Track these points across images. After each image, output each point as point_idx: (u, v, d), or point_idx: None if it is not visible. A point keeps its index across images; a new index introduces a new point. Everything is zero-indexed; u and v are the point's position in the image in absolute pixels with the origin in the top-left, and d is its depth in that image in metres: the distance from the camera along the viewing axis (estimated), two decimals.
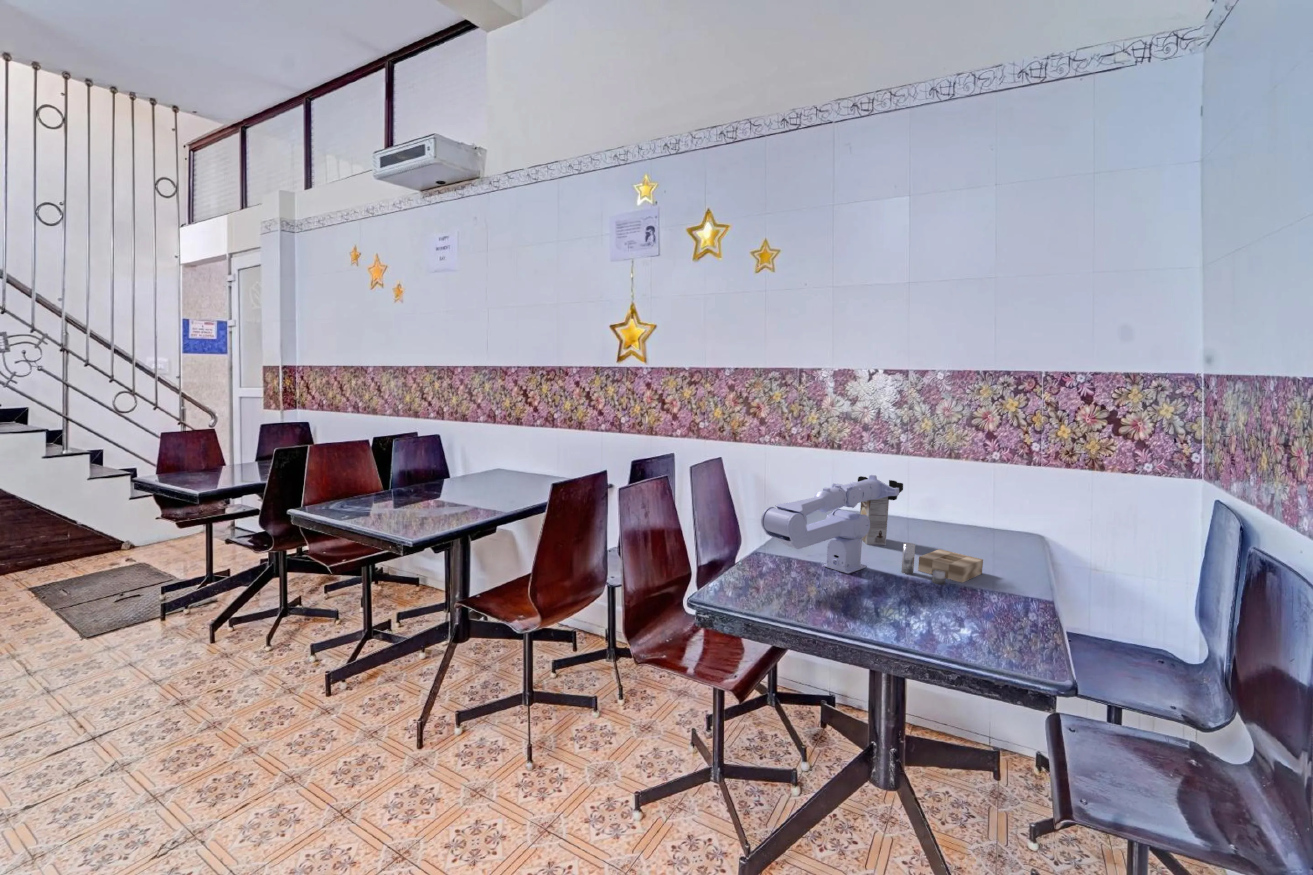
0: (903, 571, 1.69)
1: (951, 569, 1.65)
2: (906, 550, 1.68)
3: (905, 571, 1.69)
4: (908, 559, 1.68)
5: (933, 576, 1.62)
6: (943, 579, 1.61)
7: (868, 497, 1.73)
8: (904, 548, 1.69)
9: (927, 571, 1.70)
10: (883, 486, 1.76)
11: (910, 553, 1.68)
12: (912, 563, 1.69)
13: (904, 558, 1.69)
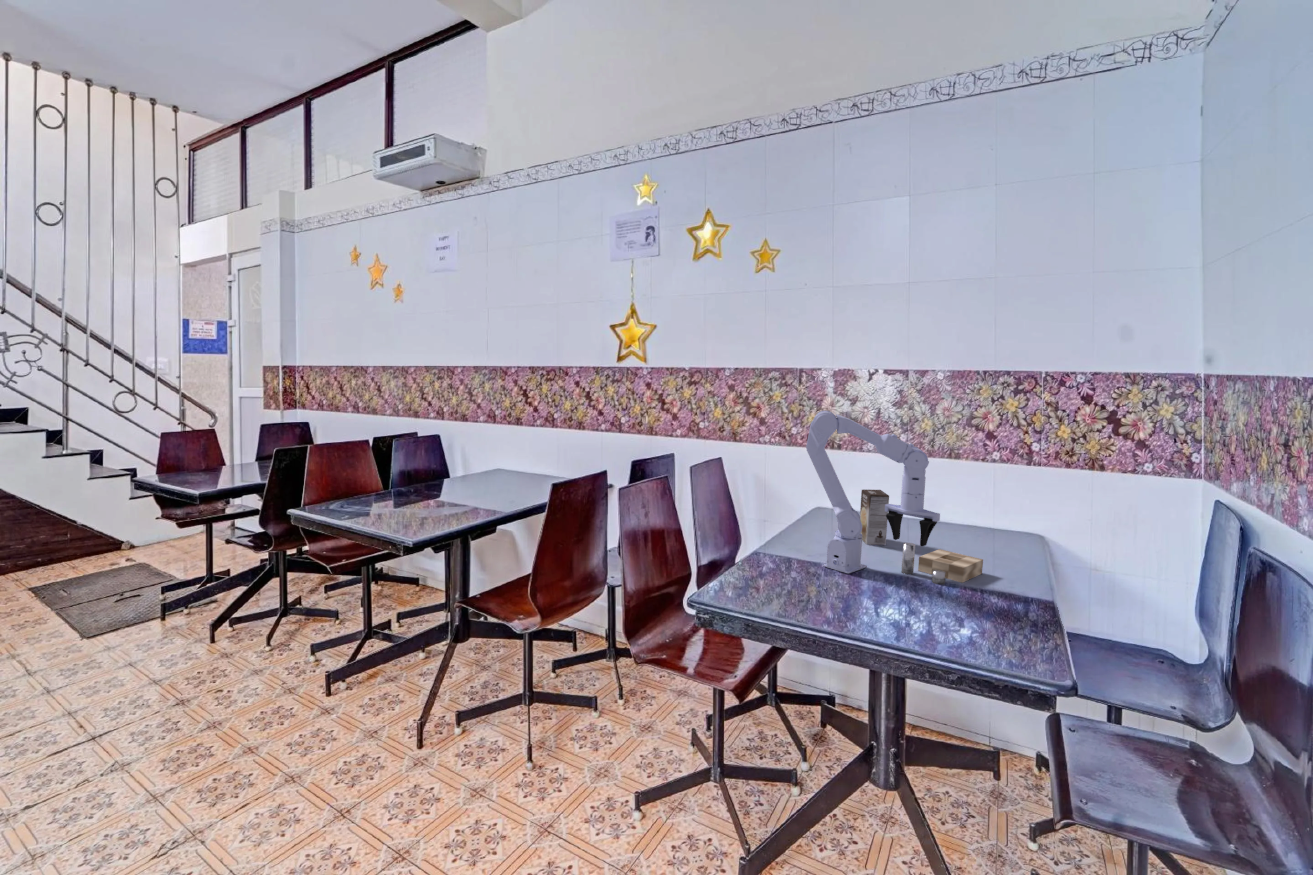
0: (903, 571, 1.69)
1: (951, 569, 1.65)
2: (906, 550, 1.68)
3: (905, 571, 1.69)
4: (908, 559, 1.68)
5: (933, 576, 1.62)
6: (943, 579, 1.61)
7: (909, 489, 1.65)
8: (904, 548, 1.69)
9: (927, 571, 1.70)
10: (925, 512, 1.66)
11: (910, 553, 1.68)
12: (912, 563, 1.69)
13: (904, 558, 1.69)
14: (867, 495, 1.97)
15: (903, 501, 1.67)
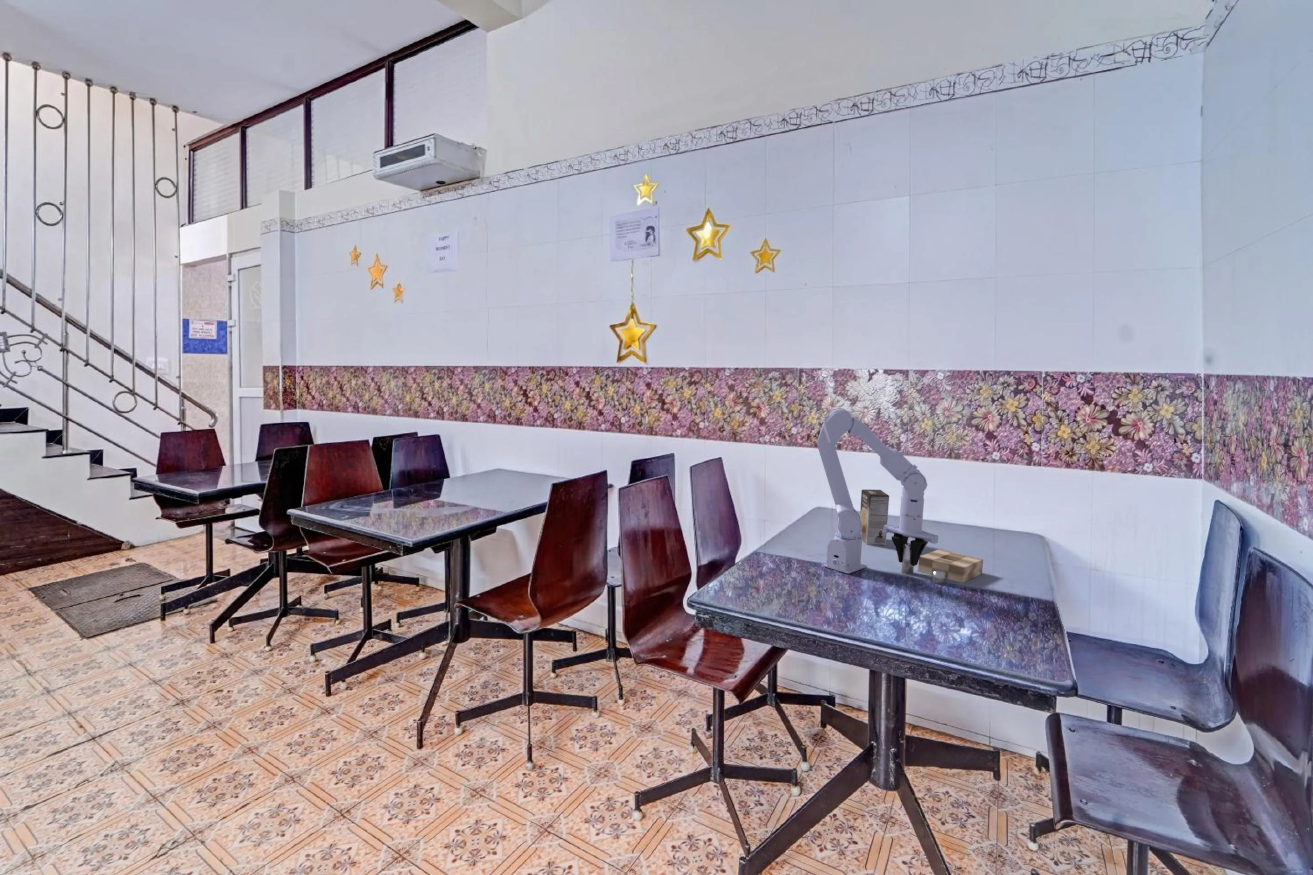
0: (903, 571, 1.69)
1: (951, 569, 1.65)
2: (906, 550, 1.68)
3: (905, 571, 1.69)
4: (908, 559, 1.68)
5: (933, 576, 1.62)
6: (943, 579, 1.61)
7: (908, 511, 1.66)
8: (904, 548, 1.69)
9: (927, 571, 1.70)
10: None
11: (910, 553, 1.68)
12: None
13: (904, 558, 1.69)
14: (867, 495, 1.97)
15: (901, 523, 1.68)
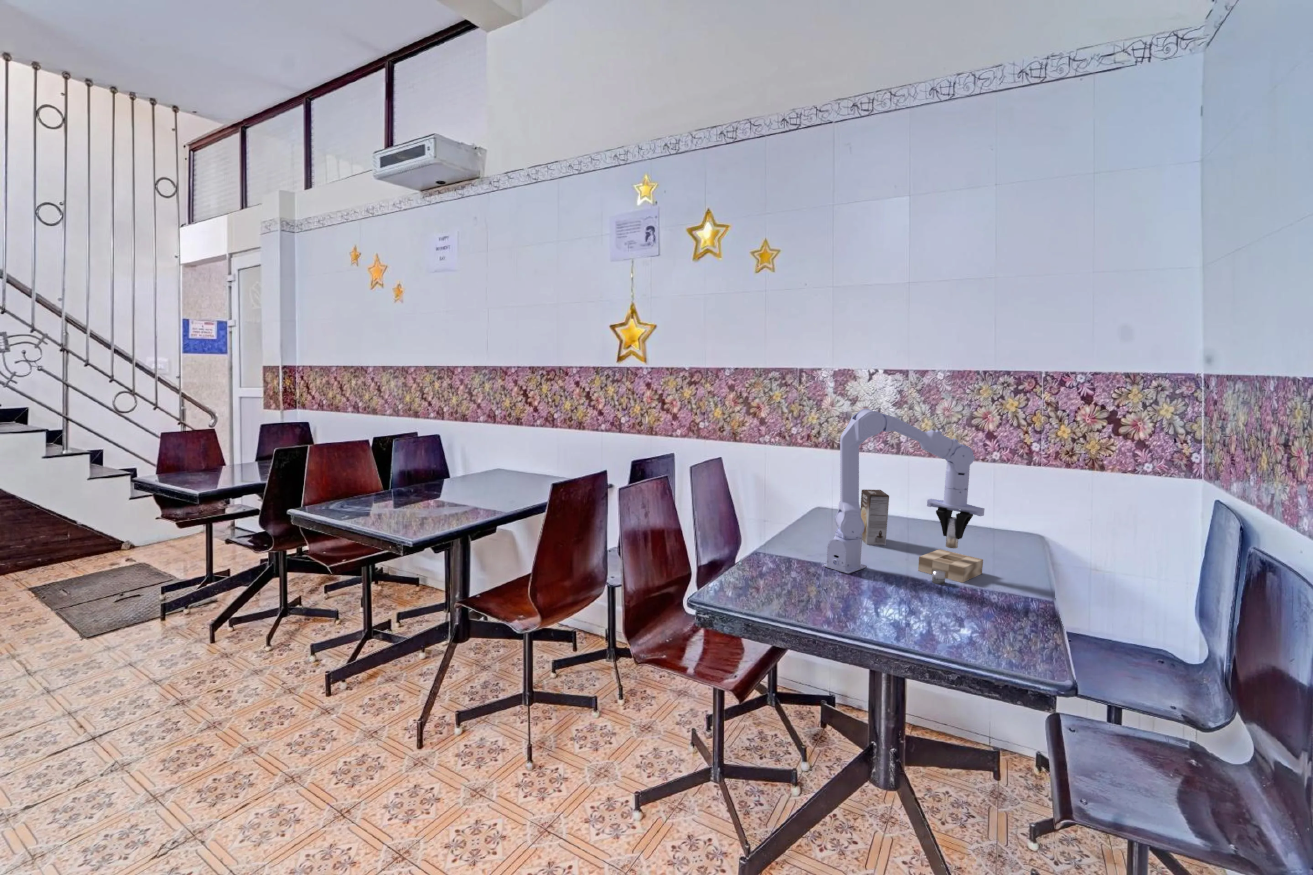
0: (947, 545, 1.70)
1: (951, 569, 1.65)
2: (950, 524, 1.69)
3: (949, 545, 1.69)
4: (952, 533, 1.69)
5: (933, 576, 1.62)
6: (943, 579, 1.61)
7: (955, 485, 1.66)
8: (948, 522, 1.69)
9: (927, 571, 1.70)
10: None
11: (954, 527, 1.68)
12: None
13: (948, 532, 1.69)
14: (867, 495, 1.97)
15: (947, 496, 1.68)
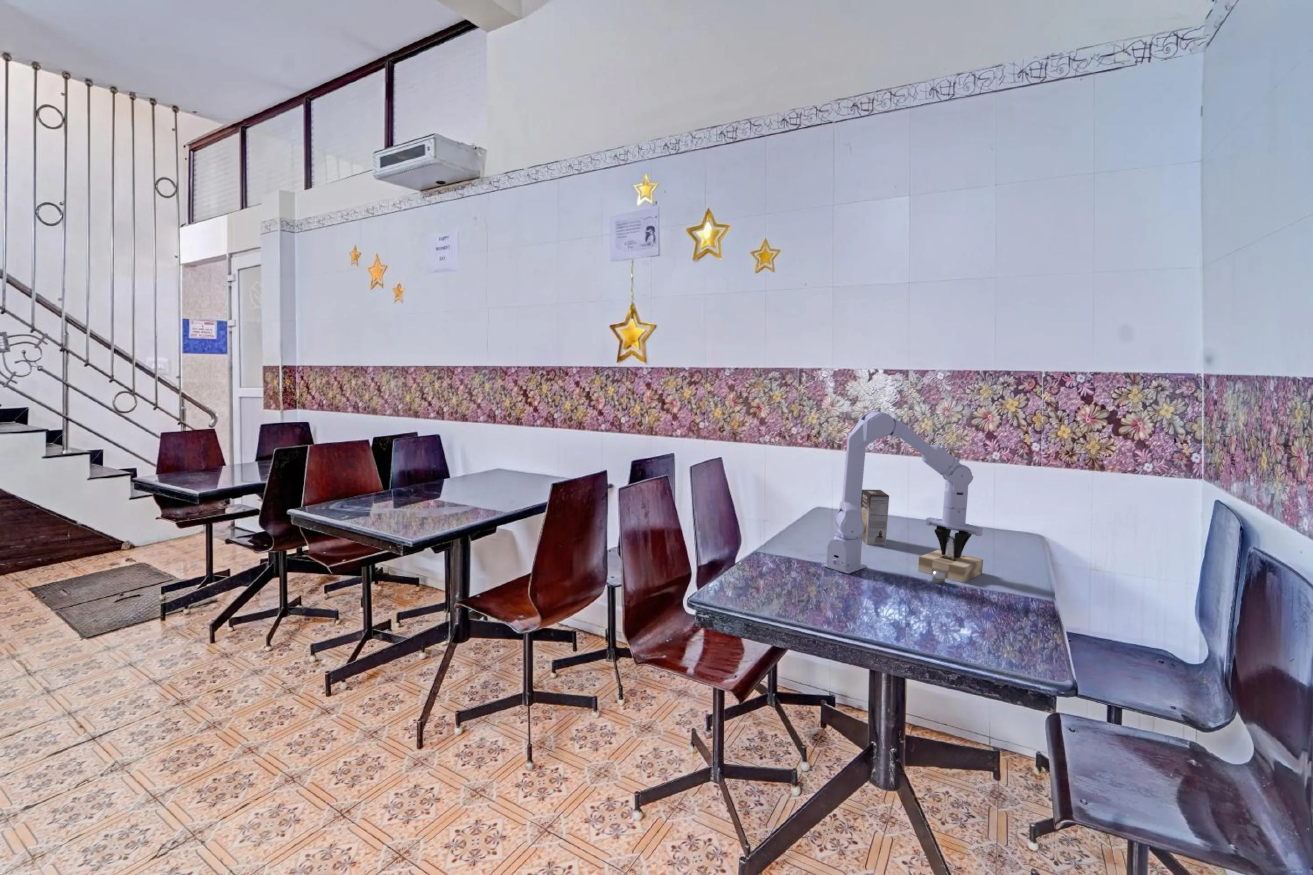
0: None
1: (951, 569, 1.65)
2: (948, 543, 1.69)
3: None
4: (950, 552, 1.69)
5: (933, 576, 1.62)
6: (943, 579, 1.61)
7: (954, 504, 1.67)
8: (947, 541, 1.70)
9: (927, 571, 1.70)
10: (967, 526, 1.68)
11: (953, 546, 1.69)
12: None
13: (947, 551, 1.70)
14: (867, 495, 1.97)
15: (945, 516, 1.69)
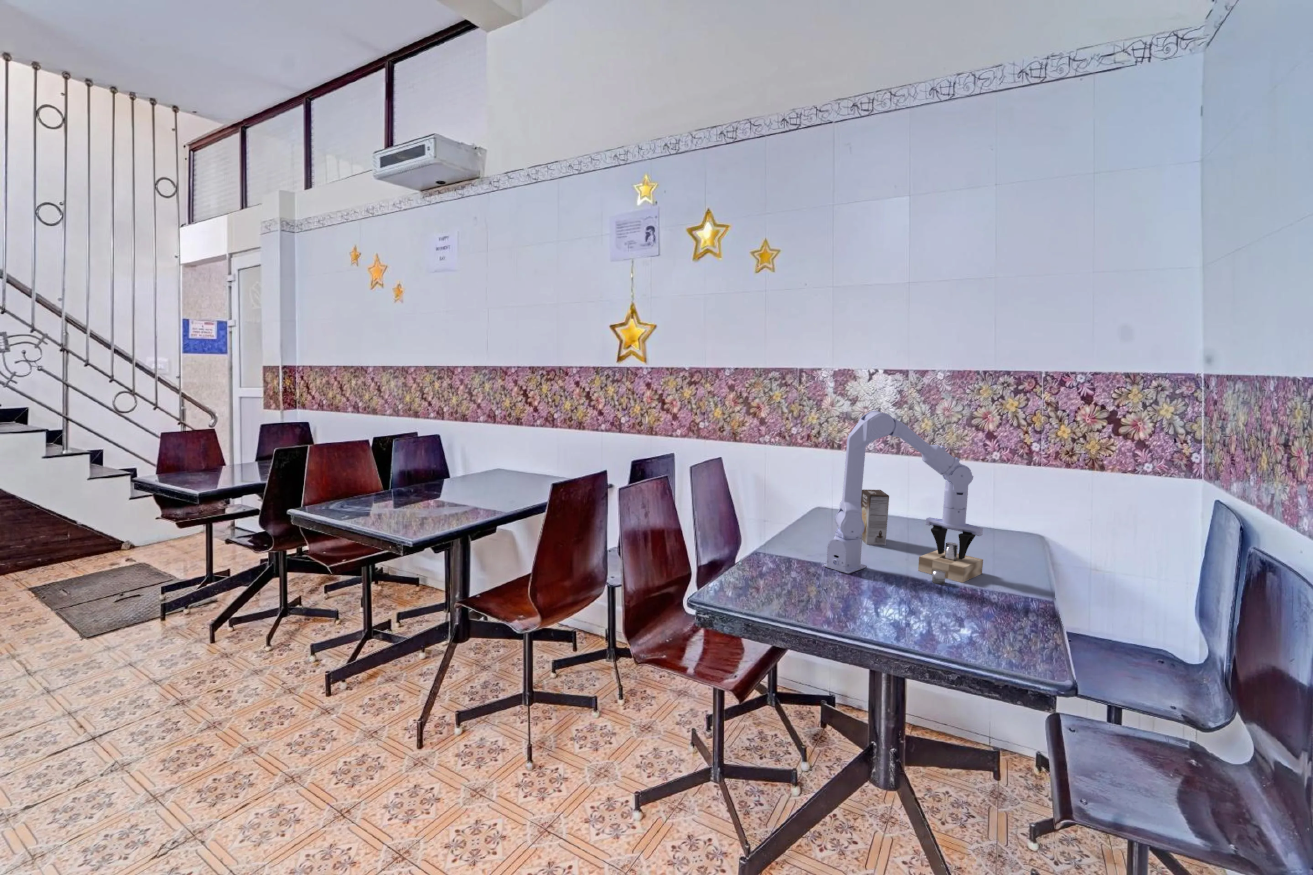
0: None
1: (951, 569, 1.65)
2: (948, 550, 1.70)
3: None
4: (950, 559, 1.69)
5: (933, 576, 1.62)
6: (943, 579, 1.61)
7: (954, 504, 1.67)
8: (946, 548, 1.70)
9: (927, 571, 1.70)
10: (967, 526, 1.68)
11: (952, 553, 1.69)
12: None
13: (946, 558, 1.70)
14: (867, 495, 1.97)
15: (945, 515, 1.69)
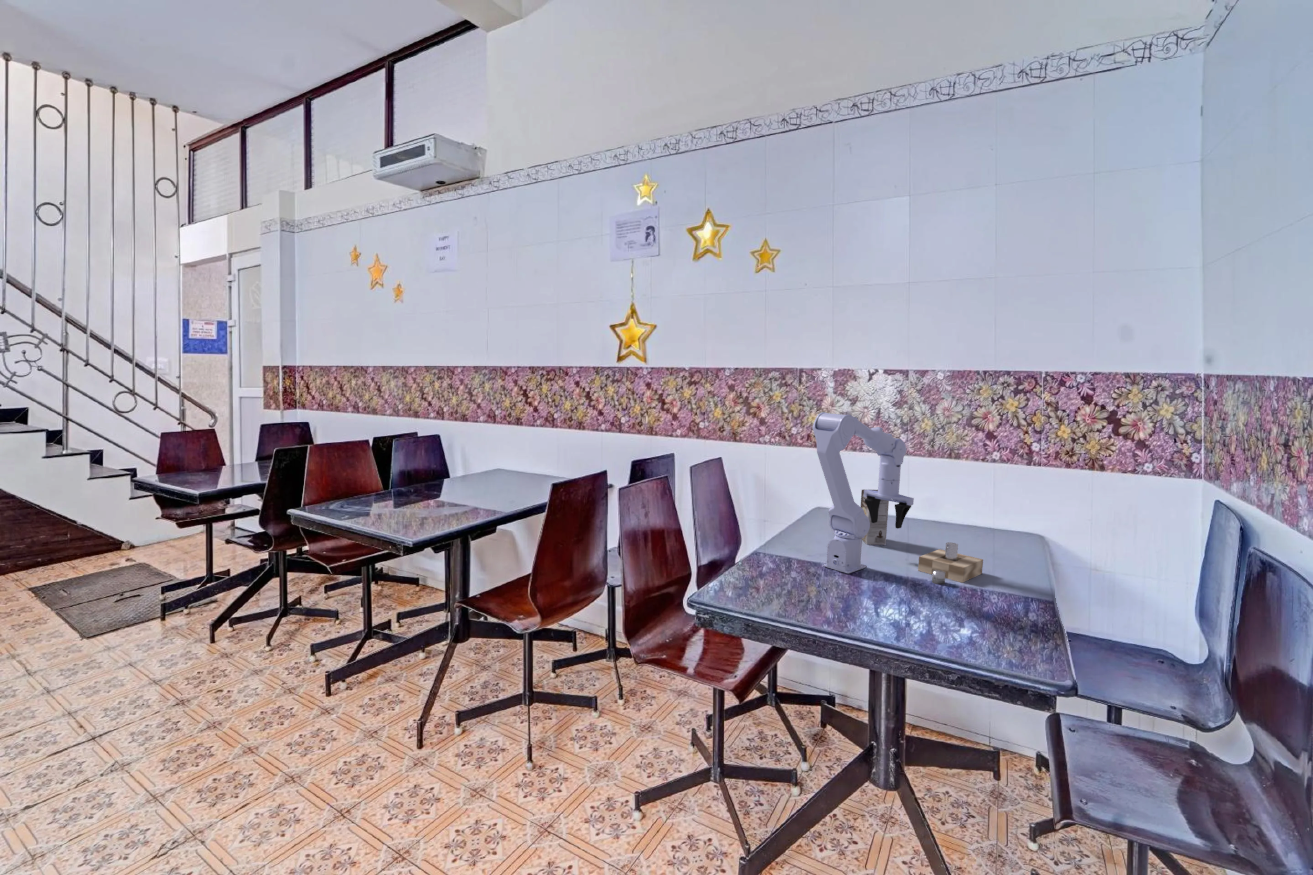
0: None
1: (951, 569, 1.65)
2: (948, 550, 1.70)
3: None
4: (950, 559, 1.69)
5: (933, 576, 1.62)
6: (943, 579, 1.61)
7: (894, 476, 1.77)
8: (946, 548, 1.70)
9: (927, 571, 1.70)
10: None
11: (952, 553, 1.69)
12: None
13: (946, 558, 1.70)
14: None
15: (880, 487, 1.80)
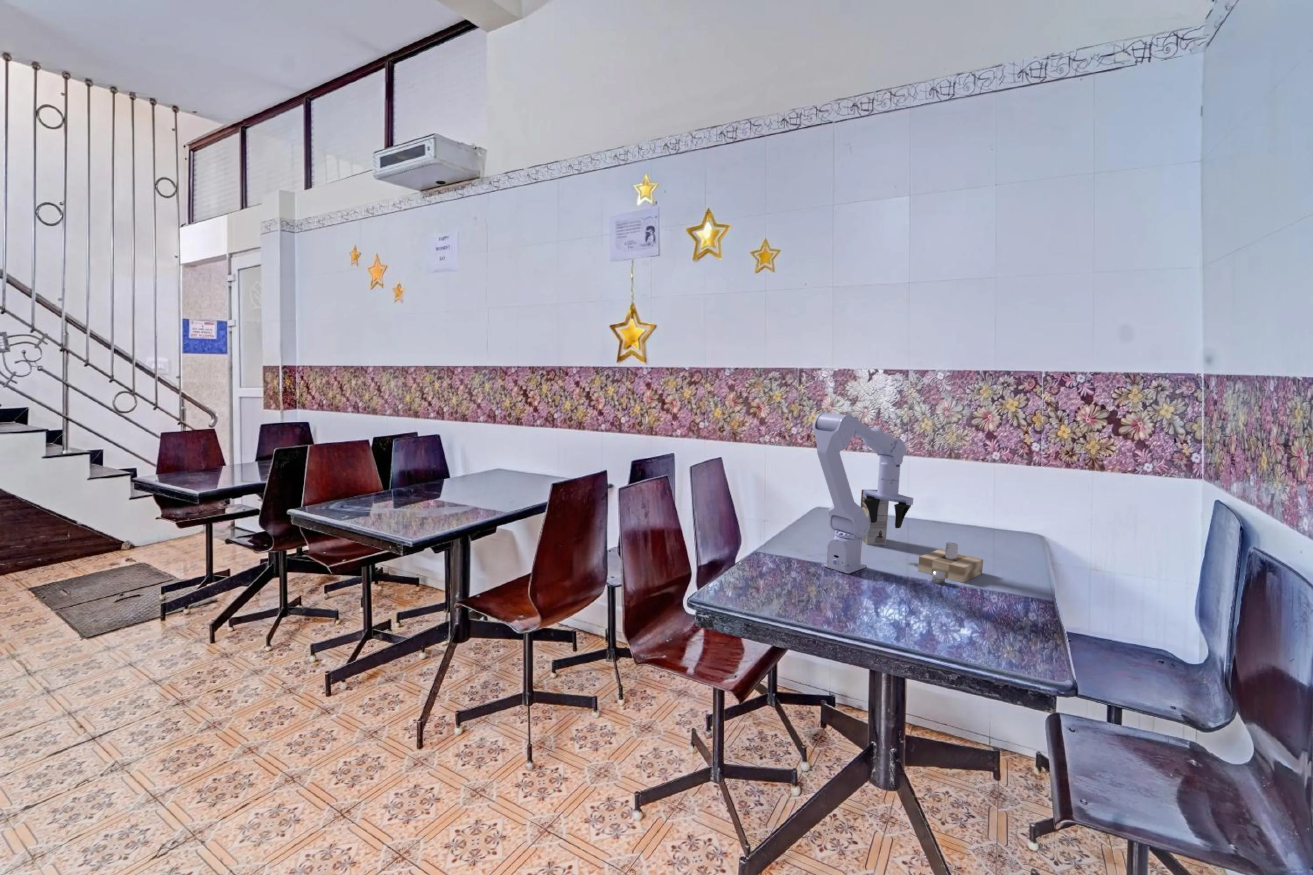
0: None
1: (951, 569, 1.65)
2: (948, 550, 1.70)
3: None
4: (950, 559, 1.69)
5: (933, 576, 1.62)
6: (943, 579, 1.61)
7: (894, 476, 1.77)
8: (946, 548, 1.70)
9: (927, 571, 1.70)
10: None
11: (952, 553, 1.69)
12: None
13: (946, 558, 1.70)
14: None
15: (879, 487, 1.80)
